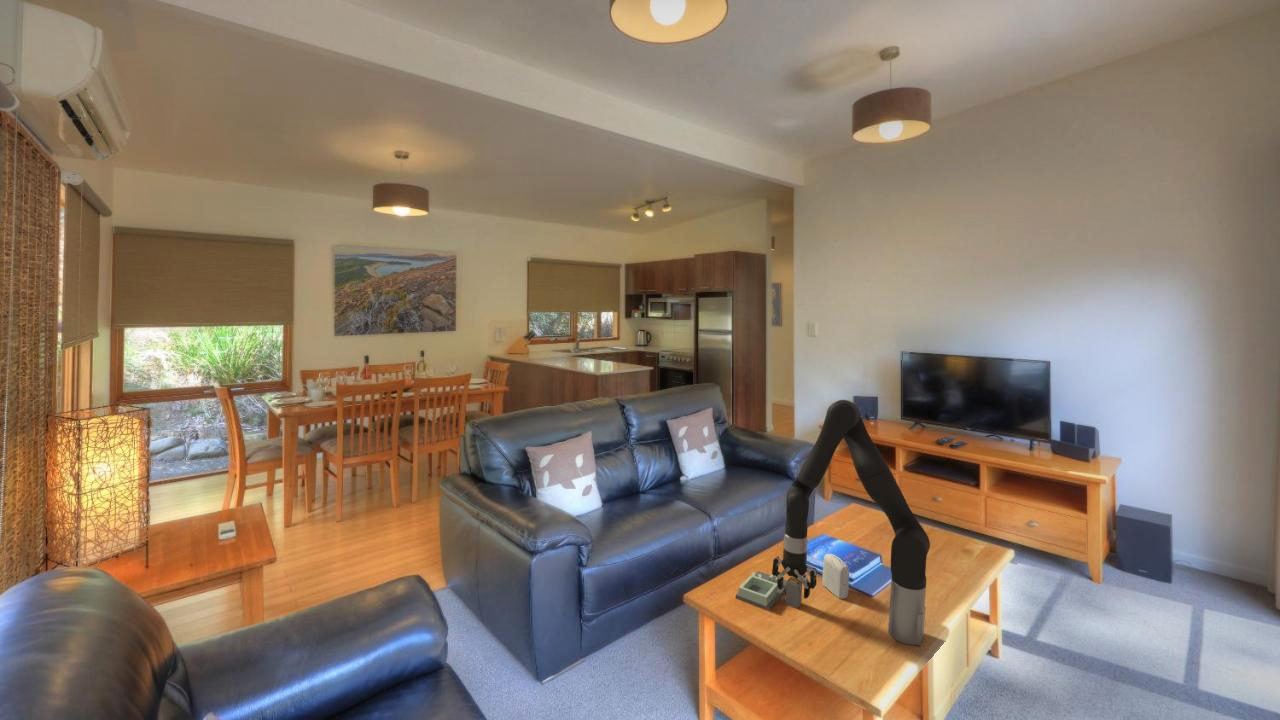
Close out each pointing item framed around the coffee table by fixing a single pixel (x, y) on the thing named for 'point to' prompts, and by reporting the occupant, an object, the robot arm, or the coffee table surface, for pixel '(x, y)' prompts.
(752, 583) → the end holder
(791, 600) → the block
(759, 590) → the board
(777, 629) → the coffee table surface
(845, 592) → the photo printer
